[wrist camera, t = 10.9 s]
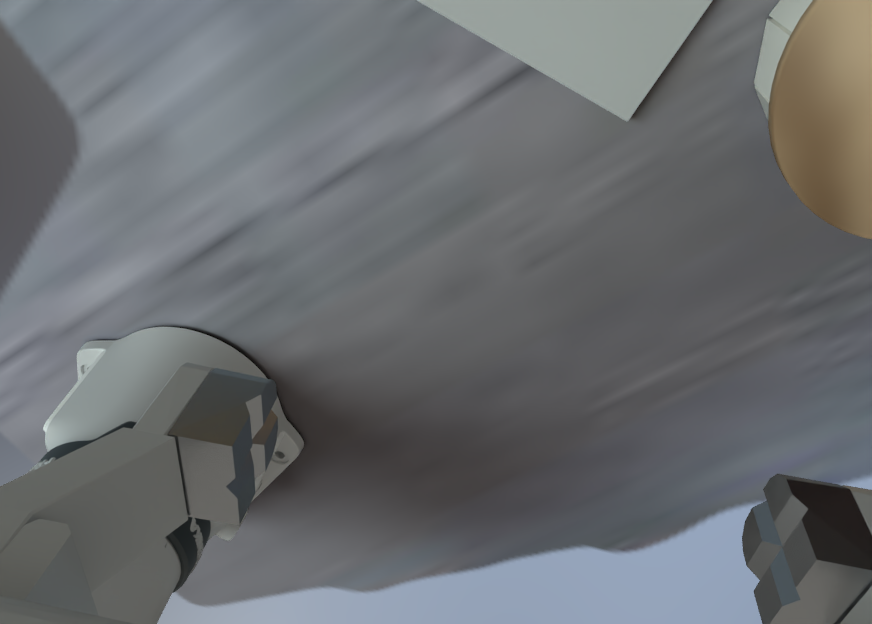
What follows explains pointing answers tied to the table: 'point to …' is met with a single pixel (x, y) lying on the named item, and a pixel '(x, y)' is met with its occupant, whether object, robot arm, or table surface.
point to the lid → (827, 113)
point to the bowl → (776, 44)
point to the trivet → (585, 40)
